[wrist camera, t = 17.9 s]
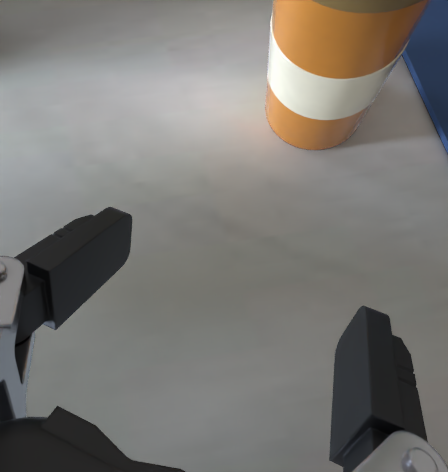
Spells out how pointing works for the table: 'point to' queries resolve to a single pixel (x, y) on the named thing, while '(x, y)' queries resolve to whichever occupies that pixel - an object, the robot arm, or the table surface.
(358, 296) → the table surface
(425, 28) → the blue rectangular panel
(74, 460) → the robot arm
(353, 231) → the table surface
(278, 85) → the honey jar
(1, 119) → the table surface
